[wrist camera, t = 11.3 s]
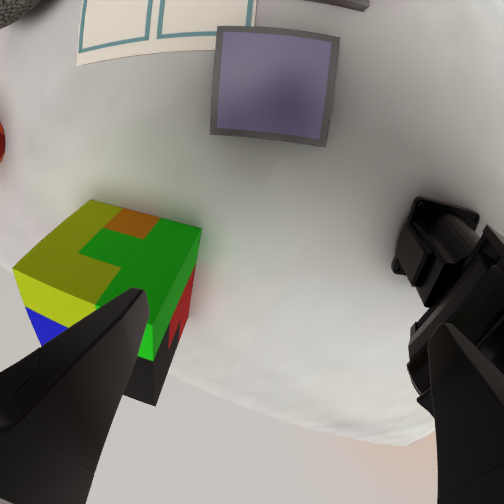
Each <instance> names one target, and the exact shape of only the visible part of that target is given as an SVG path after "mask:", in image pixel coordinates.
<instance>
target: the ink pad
mask: <svg viewBox="0 0 504 504" xmlns="http://www.w3.org/2000/svg"><path fill="white" fill-rule="evenodd" d="M339 41H340V37H335V36H330V35H325V34H319V33H313V32H306V31H298V30H290V29H281V28H269V27H254V26H217V34H216V46H215V58H214V72H213V86H212V103H211V122H210V134H212V135H227V136H240V137H251V138H261V139H270V140H279V141H287V142H294V143H301V144H308V145H315V146H321V147H326V142H327V136H328V129H329V122H330V115H331V108H332V101H333V93H334V86H335V77H336V69H337V60H338V51H339Z"/></svg>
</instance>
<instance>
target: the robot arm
mask: <svg viewBox="0 0 504 504" xmlns="http://www.w3.org/2000/svg"><path fill="white" fill-rule="evenodd" d="M420 202H422V205H421V206H419V207H418V205H419V203H420ZM474 216H475V218H474V219H473V217H474ZM478 222H479V214H478V213H477V212H475V211H472V210H469V209H465V208H462V207H458V206H454V205H451V204H447V203H443V202H439V201H435V200H431V199H427V198H423V197H418V198H416V199H415V200H414V202H413V206H412V209H411V212H410V215H409V218H408V221H407V223H406V224H405V225H404V228H403V231H402V234H401V237H400V239H399V242H398V245H397V248H396V251H395V253H396V255H395V258H394V261H393V263H392V267H391V268H392V270H393V272H394V273H395V274H400V275H407V278H408V280H409V282H410V284H411V286H412V287H416V289H417V291H418V293H419V295H420V298H421V300H422V302H423V304H424V306H425V307H428V308H429V309H428V310H427V312H426V313H425V314H424V315H423V316H422V317H421V319H420V320H419V321H418V322H415V323H414V324H413V326H412V327H411V331H410V342H409V346H408V349H409V359H410V361H409V362H408V363H407V370H408V373H409V375H410V378H411V381H412V384H413V386H414V388H415V389H416V391H417V392H418V394H419V395H420V396H419V397H418V398H417V402H418V403H419V404H420V405H421V406H423V407H424V408H425V409H426V410H427V411H429V412H430V414H431V415H432V416H433V417H434V419H435V429H436V442H437V461H438V498H437V504H504V237H503V236H502V235H500V234H499V233H498V232H497V231H495V230H494V229H493V228H491V227H490V226H489V225H486V227H485V228H484V230H483V235H482V236H481V238H480V237H479V236H478V235H477V234H476V233H475V229H476V227H477V224H478ZM398 266H400V267H399V268H397V269H396V267H398ZM149 314H150V310H149V304H148V299H147V294H146V291H145V290H144V289H140V288H135V287H132V288H130V289H128V290H126V291H125V292H123V293H122V294H120V295H118V296H117V297H115V298H114V299H112V300H111V301H109V302H107V303H106V304H104V305H103V306H101V307H100V308H98V309H97V310H95V311H94V312H92V313H90V314H89V315H87V316H86V317H84V318H83V319H81V320H80V321H78V322H77V323H75V324H74V325H72V326H71V327H69V328H68V329H66V330H65V331H63V332H62V333H60V334H59V335H57V336H56V337H54V338H53V339H51V340H50V341H48V342H47V343H45V344H44V345H42V346H41V348H38V349H36V350H35V351H34V352H32V353H31V354H29V355H28V356H26V357H25V358H23V359H21V360H20V361H18V362H17V363H15V364H13V365H12V366H10V367H9V368H7V369H5V370H3V371H2V372H0V504H86V500H87V497H88V493H89V490H90V487H91V484H92V480H93V477H94V473H95V470H96V467H97V464H98V461H99V458H100V455H101V452H102V449H103V446H104V443H105V441H106V438H107V435H108V432H109V429H110V427H111V424H112V421H113V418H114V416H115V413H116V410H117V408H118V405H119V402H120V400H121V397H122V395H123V392H124V390H125V387H126V384H127V382H128V379H129V377H130V374H131V372H132V370H133V367H134V365H135V362H136V359H137V356H138V353H139V349H140V346H141V342H142V339H143V335H144V332H145V329H146V325H147V322H148V319H149Z"/></svg>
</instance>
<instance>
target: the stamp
mask: <svg viewBox="0 0 504 504" xmlns="http://www.w3.org/2000/svg"><path fill="white" fill-rule="evenodd" d="M306 1H313V2H319V3H325V4H330V5H335V6H340V7H345V8H349V9H354V10H358V11H362V12H363V11H365V10H366V9H367V8H368V7H369V0H306Z"/></svg>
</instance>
